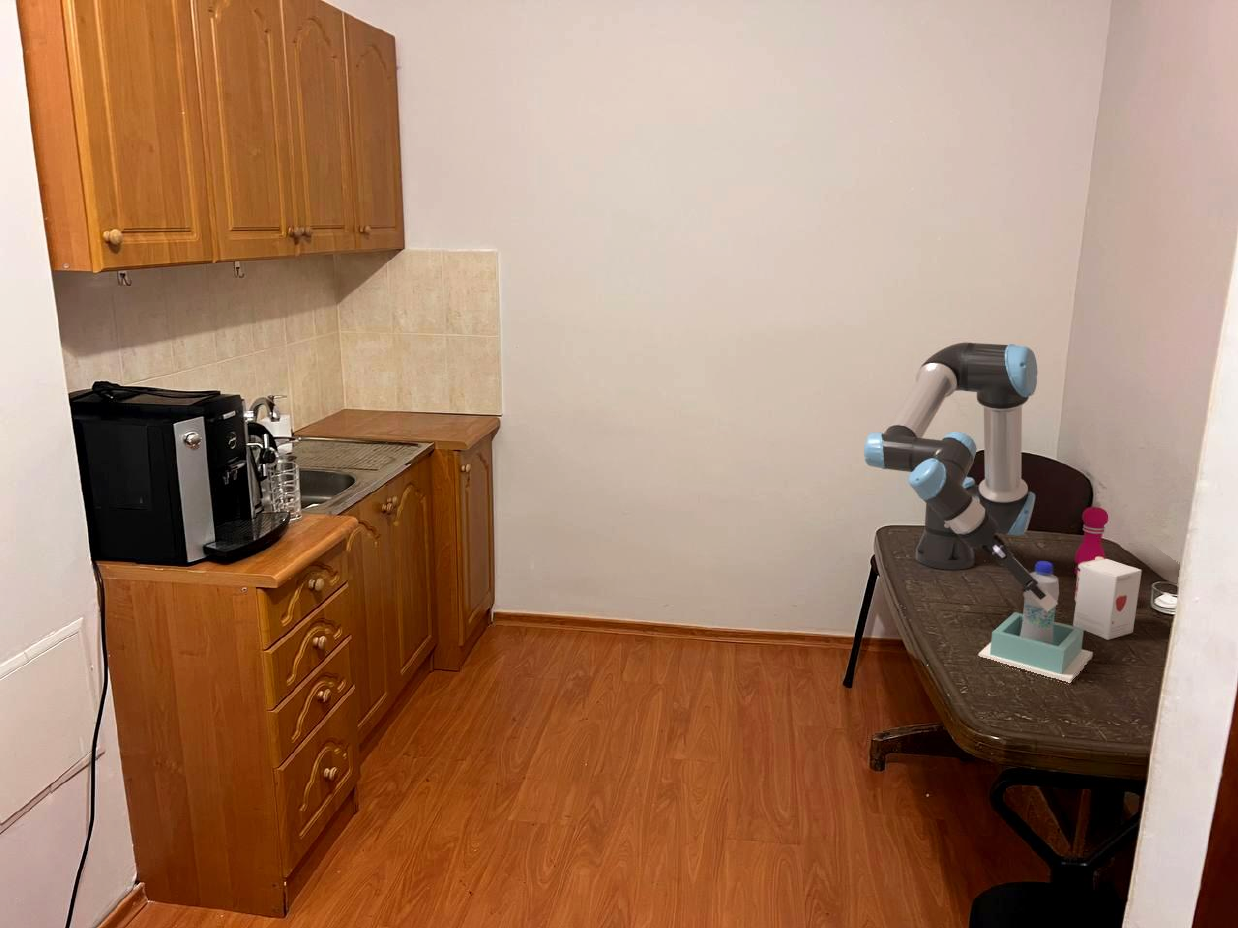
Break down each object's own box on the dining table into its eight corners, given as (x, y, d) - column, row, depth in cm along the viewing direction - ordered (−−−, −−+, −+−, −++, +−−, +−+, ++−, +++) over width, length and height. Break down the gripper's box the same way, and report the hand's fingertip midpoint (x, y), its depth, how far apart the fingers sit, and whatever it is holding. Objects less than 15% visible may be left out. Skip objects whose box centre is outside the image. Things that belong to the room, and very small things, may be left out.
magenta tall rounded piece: (1097, 570, 244) (1106, 498, 240) (1108, 580, 237) (1117, 505, 233) (1068, 570, 245) (1077, 497, 240) (1078, 579, 238) (1087, 505, 233)
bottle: (1050, 647, 196) (1060, 558, 191) (1054, 661, 189) (1064, 568, 185) (1016, 643, 198) (1025, 554, 193) (1018, 656, 192) (1027, 565, 187)
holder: (978, 658, 193) (980, 631, 192) (1004, 634, 205) (1006, 608, 204) (1069, 684, 182) (1073, 655, 181) (1092, 657, 194) (1095, 629, 192)
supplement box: (1108, 641, 202) (1116, 576, 198) (1071, 626, 210) (1079, 563, 206) (1134, 633, 206) (1143, 569, 202) (1098, 618, 214) (1105, 557, 210)
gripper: (941, 516, 201) (1006, 583, 203) (974, 555, 177) (1047, 630, 179) (968, 493, 199) (1033, 561, 201) (1005, 529, 175) (1078, 605, 177)
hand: (1040, 594), depth 190 cm, fingers open, 13 cm apart
